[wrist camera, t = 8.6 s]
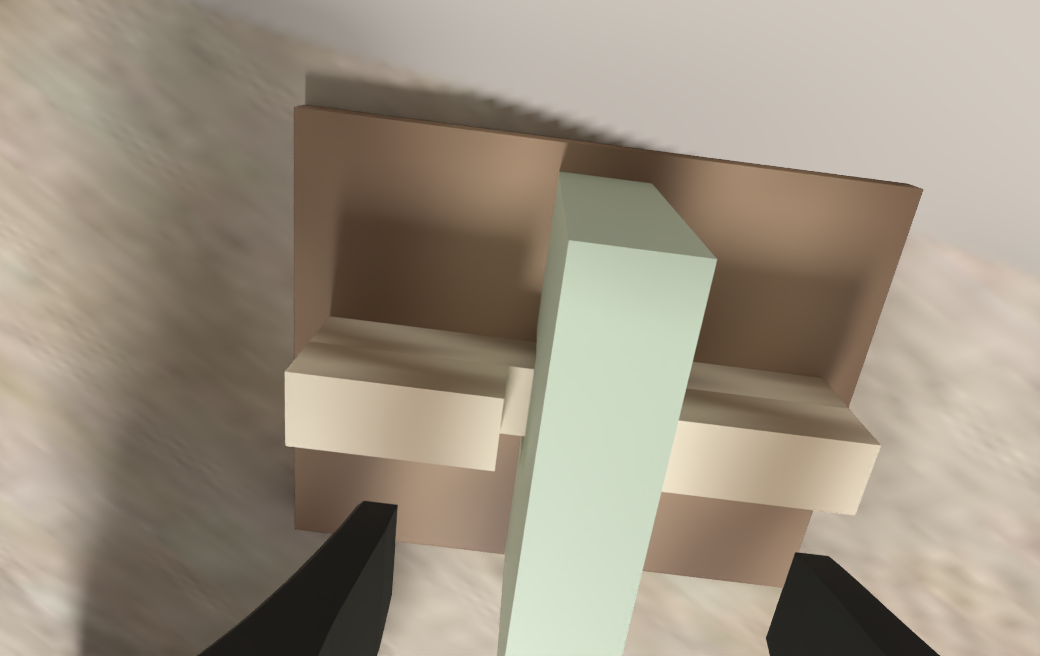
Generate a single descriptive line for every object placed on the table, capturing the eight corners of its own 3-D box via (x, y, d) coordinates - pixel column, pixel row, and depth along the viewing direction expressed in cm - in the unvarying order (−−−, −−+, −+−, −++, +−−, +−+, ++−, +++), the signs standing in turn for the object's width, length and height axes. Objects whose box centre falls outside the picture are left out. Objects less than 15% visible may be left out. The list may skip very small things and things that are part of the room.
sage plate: (579, 556, 22) (594, 767, 15) (505, 547, 22) (489, 756, 15) (651, 183, 17) (717, 259, 11) (558, 171, 17) (568, 240, 11)
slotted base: (302, 513, 23) (250, 614, 18) (304, 104, 18) (233, 119, 14) (778, 570, 23) (829, 682, 19) (907, 183, 18) (1015, 221, 14)
